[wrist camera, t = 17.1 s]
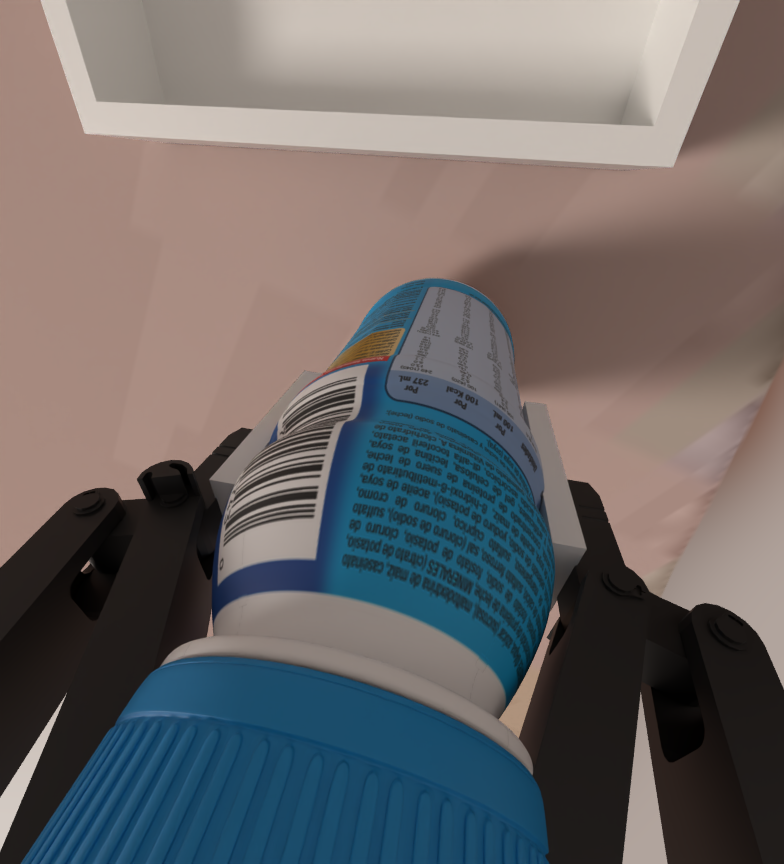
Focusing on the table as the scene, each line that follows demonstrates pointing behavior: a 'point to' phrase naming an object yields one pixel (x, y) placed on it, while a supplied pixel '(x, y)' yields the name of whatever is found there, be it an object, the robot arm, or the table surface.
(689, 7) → the tote
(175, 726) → the beverage bottle
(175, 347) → the table surface
